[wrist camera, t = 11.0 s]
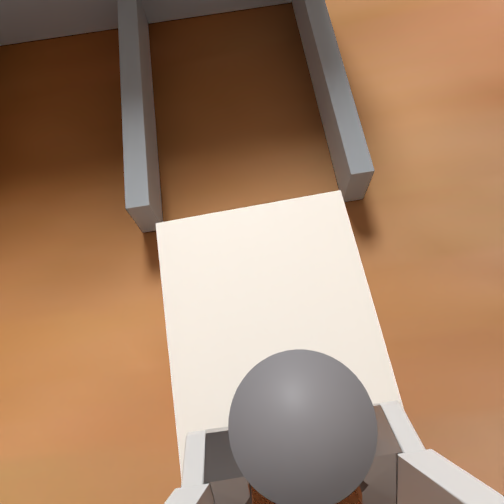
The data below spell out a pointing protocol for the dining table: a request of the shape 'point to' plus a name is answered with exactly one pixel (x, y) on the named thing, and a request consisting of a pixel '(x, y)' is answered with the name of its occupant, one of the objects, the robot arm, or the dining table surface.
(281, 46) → the dining table surface
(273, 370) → the pull block
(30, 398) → the dining table surface
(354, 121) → the lane rack
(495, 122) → the dining table surface
